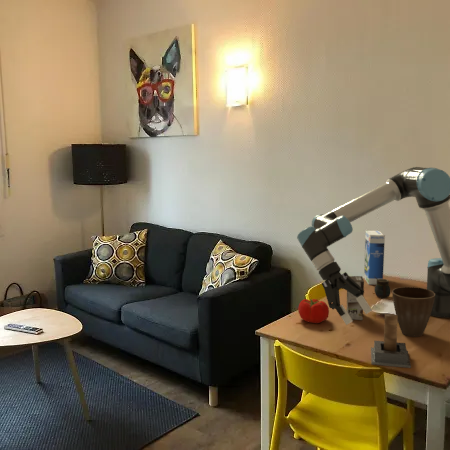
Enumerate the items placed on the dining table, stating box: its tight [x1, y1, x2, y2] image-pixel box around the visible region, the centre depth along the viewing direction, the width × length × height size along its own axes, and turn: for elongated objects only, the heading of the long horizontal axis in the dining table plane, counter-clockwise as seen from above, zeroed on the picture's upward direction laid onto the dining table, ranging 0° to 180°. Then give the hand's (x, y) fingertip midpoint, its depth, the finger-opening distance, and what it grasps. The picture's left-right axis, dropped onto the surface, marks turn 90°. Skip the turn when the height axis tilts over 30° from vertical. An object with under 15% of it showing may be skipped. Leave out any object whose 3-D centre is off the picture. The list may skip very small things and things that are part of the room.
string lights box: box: [363, 230, 386, 286], centre depth 255 cm, size 13×8×26 cm, turn 174°
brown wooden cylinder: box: [383, 313, 398, 352], centre depth 163 cm, size 4×4×14 cm
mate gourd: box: [374, 276, 392, 299], centre depth 230 cm, size 7×8×10 cm
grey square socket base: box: [370, 340, 412, 369], centre depth 164 cm, size 12×12×4 cm
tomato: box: [297, 298, 330, 324], centre depth 200 cm, size 13×12×8 cm
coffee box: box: [346, 275, 365, 321], centre depth 204 cm, size 9×6×16 cm
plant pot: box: [391, 286, 435, 338], centre depth 184 cm, size 15×15×16 cm
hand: (359, 317), depth 172 cm, fingers open, 13 cm apart
